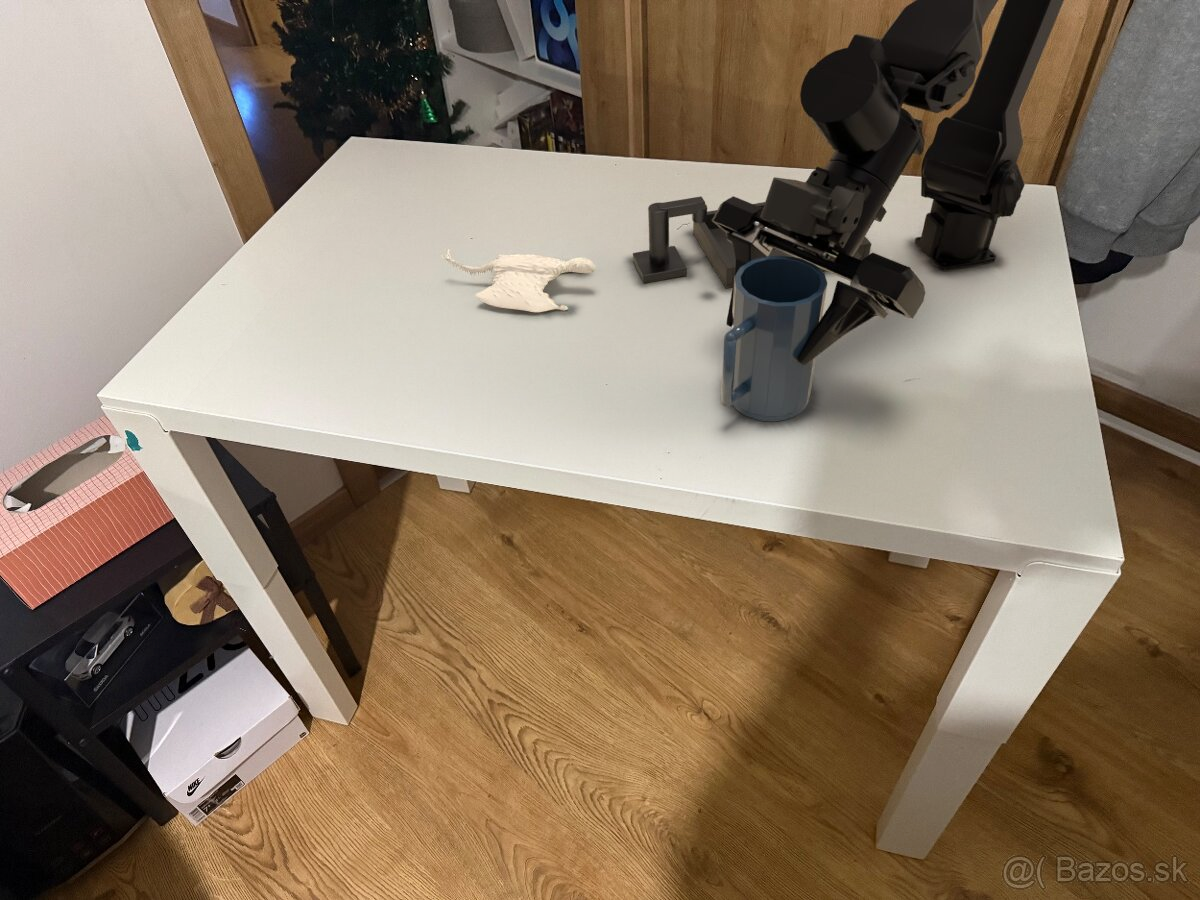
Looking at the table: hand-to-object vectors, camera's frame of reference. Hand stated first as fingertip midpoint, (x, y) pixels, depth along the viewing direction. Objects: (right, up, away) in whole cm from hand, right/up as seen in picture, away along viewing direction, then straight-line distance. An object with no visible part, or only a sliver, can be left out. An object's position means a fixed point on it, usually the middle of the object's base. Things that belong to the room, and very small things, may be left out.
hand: (763, 344), depth 71 cm
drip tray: (+6, +14, +23) cm, 28 cm away
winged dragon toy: (-23, +9, +21) cm, 33 cm away
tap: (-6, +12, +22) cm, 26 cm away
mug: (0, -5, +5) cm, 7 cm away
